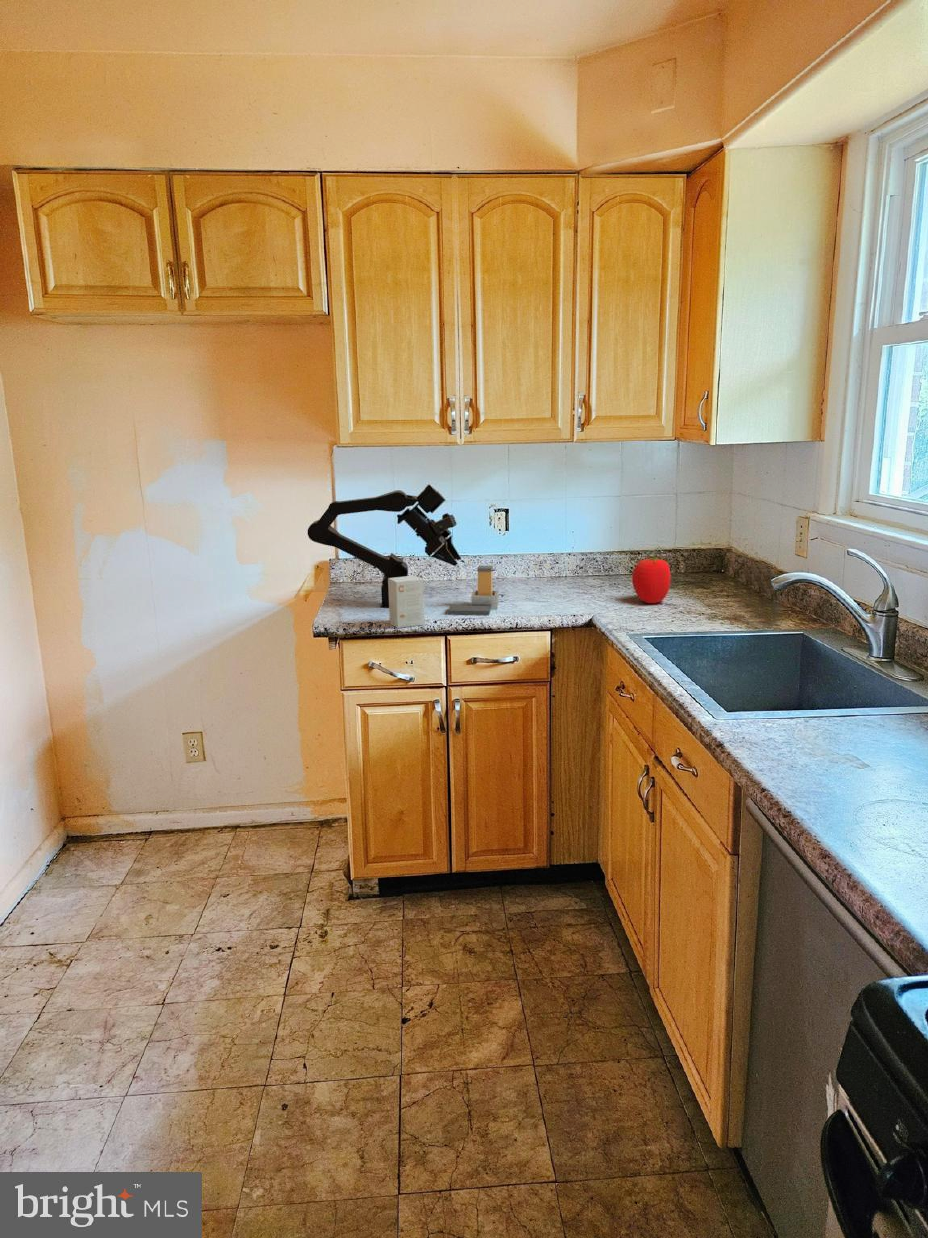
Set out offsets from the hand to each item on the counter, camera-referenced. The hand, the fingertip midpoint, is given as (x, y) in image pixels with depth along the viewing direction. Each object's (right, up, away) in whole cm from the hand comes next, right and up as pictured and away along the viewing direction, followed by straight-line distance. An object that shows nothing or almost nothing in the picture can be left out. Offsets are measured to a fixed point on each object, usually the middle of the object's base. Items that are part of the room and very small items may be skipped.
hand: (458, 562), depth 250 cm
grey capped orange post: (+8, -13, +3) cm, 16 cm away
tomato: (+59, -12, +6) cm, 60 cm away
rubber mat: (+3, -15, -5) cm, 16 cm away
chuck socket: (+8, -13, +3) cm, 16 cm away
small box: (-14, -19, -18) cm, 29 cm away
